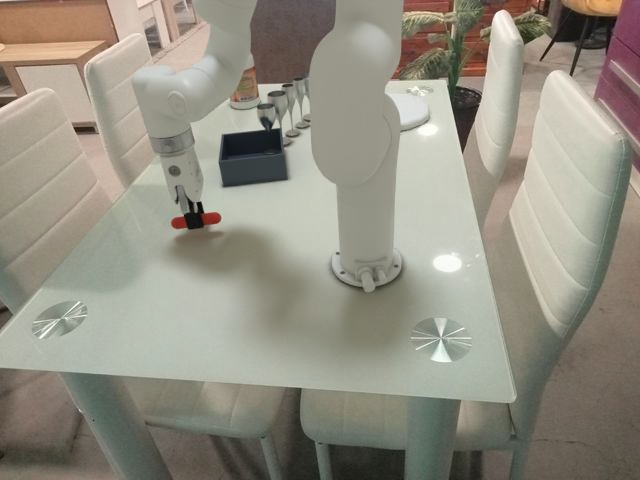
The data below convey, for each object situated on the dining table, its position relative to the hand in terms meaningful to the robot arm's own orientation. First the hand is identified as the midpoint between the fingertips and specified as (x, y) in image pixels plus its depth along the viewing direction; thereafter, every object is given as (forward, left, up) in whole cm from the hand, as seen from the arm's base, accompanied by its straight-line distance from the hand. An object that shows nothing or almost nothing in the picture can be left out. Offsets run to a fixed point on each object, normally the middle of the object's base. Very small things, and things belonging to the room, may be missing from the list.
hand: (196, 223), depth 96 cm
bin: (+26, -11, -3) cm, 29 cm away
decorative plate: (+49, -49, -3) cm, 70 cm away
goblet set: (+44, -22, -3) cm, 49 cm away
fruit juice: (+70, -8, -3) cm, 71 cm away
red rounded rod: (0, 0, -1) cm, 1 cm away
